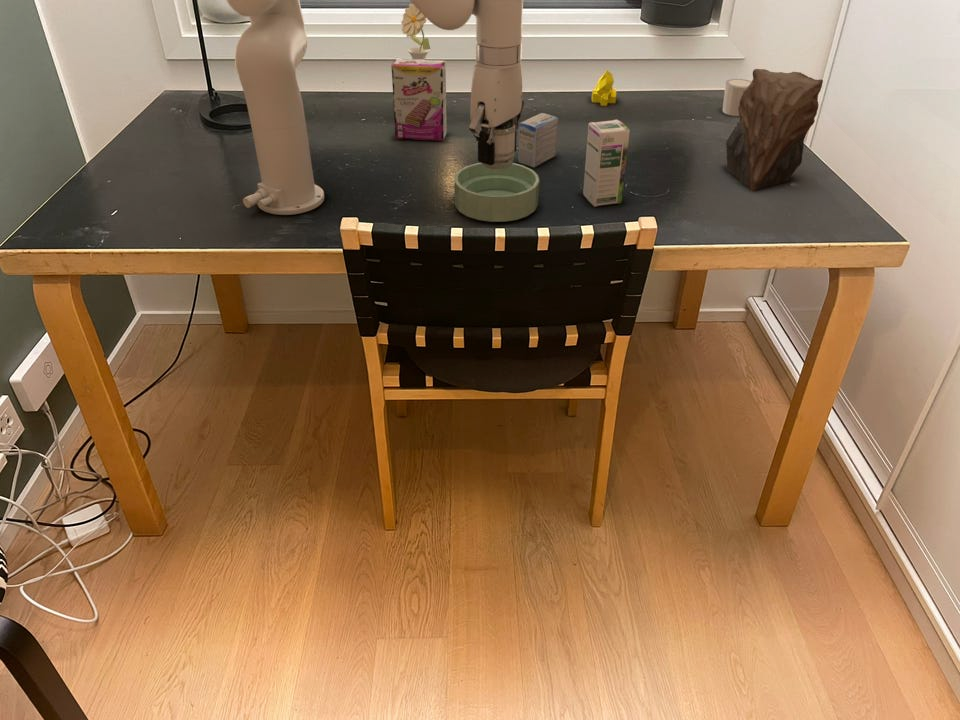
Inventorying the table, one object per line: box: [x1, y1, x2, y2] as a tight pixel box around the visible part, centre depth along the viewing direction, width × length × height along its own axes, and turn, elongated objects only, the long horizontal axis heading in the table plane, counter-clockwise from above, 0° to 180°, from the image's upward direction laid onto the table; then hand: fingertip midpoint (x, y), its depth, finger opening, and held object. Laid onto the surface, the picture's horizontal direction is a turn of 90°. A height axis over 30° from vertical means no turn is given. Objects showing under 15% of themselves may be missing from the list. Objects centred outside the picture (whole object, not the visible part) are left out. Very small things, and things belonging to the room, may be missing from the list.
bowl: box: [453, 162, 540, 223], centre depth 140 cm, size 16×16×6 cm
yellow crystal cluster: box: [591, 69, 617, 107], centre depth 186 cm, size 6×8×8 cm
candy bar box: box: [391, 58, 448, 142], centre depth 164 cm, size 11×5×16 cm, turn 84°
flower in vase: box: [400, 3, 431, 60], centre depth 175 cm, size 13×11×25 cm
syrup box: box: [582, 119, 631, 208], centre depth 139 cm, size 6×6×14 cm
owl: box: [725, 68, 824, 192], centre depth 147 cm, size 13×13×20 cm
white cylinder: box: [722, 78, 752, 117], centre depth 180 cm, size 7×7×7 cm
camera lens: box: [482, 120, 516, 169], centre depth 134 cm, size 6×6×8 cm
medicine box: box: [517, 112, 559, 168], centre depth 156 cm, size 8×4×9 cm, turn 141°
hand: (497, 156), depth 135 cm, fingers closed on camera lens, 6 cm apart
